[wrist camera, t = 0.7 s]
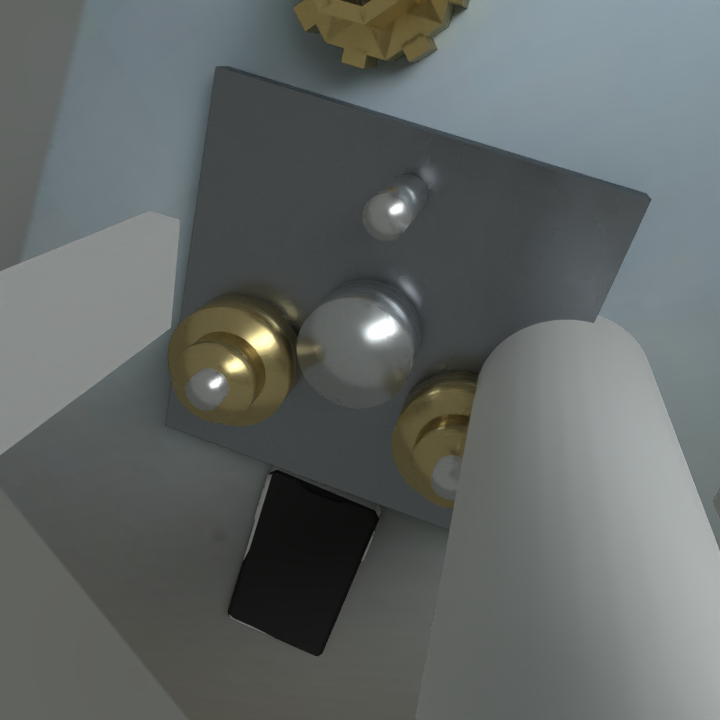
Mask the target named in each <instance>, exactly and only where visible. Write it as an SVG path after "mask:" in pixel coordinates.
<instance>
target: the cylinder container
mask: <svg viewBox="0 0 720 720" xmlns="http://www.w3.org/2000/svg"><path fill="white" fill-rule="evenodd" d="M415 720H720V550H719V548H718V545H717V542H716V540H715V537H714V535H713V532H712V529H711V527H710V524H709V521H708V519H707V516H706V513H705V511H704V508H703V505H702V503H701V500H700V497H699V495H698V492H697V490H696V487H695V484H694V482H693V479H692V476H691V474H690V471H689V468H688V466H687V463H686V460H685V458H684V455H683V452H682V450H681V447H680V445H679V442H678V439H677V437H676V434H675V431H674V429H673V426H672V423H671V421H670V418H669V415H668V413H667V410H666V407H665V405H664V402H663V400H662V397H661V394H660V392H659V389H658V386H657V384H656V381H655V378H654V376H653V373H652V370H651V368H650V365H649V362H648V360H647V358H646V355H645V353H644V351H643V350H642V348H641V347H640V345H639V344H638V343H637V341H636V340H635V339H634V338H633V337H632V336H631V335H630V334H629V333H628V332H627V331H626V330H624V329H623V328H622V327H620V326H619V325H617V324H616V323H614V322H612V321H611V320H609V319H607V318H604V317H602V316H599V315H598V316H597V318H596V320H595V322H594V323H591V322H585V321H579V320H552V321H547V322H541V323H537V324H534V325H531V326H529V327H526V328H524V329H521V330H519V331H518V332H516V333H514V334H513V335H511V336H509V337H508V338H506V339H505V340H504V341H503V342H502V343H500V344H499V345H498V346H497V347H496V348H495V349H494V350H493V351H492V353H491V354H490V355H489V357H488V358H487V359H486V361H485V362H484V364H483V366H482V368H481V371H480V373H479V377H478V382H477V388H476V393H475V397H474V400H473V405H472V410H471V416H470V421H469V426H468V432H467V437H466V443H465V448H464V454H463V459H462V465H461V470H460V476H459V481H458V487H457V492H456V498H455V503H454V509H453V514H452V520H451V525H450V531H449V536H448V542H447V547H446V553H445V558H444V564H443V569H442V574H441V580H440V585H439V591H438V596H437V602H436V607H435V613H434V618H433V624H432V629H431V635H430V640H429V646H428V651H427V657H426V662H425V668H424V673H423V679H422V684H421V690H420V695H419V701H418V706H417V712H416V717H415Z"/></svg>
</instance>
